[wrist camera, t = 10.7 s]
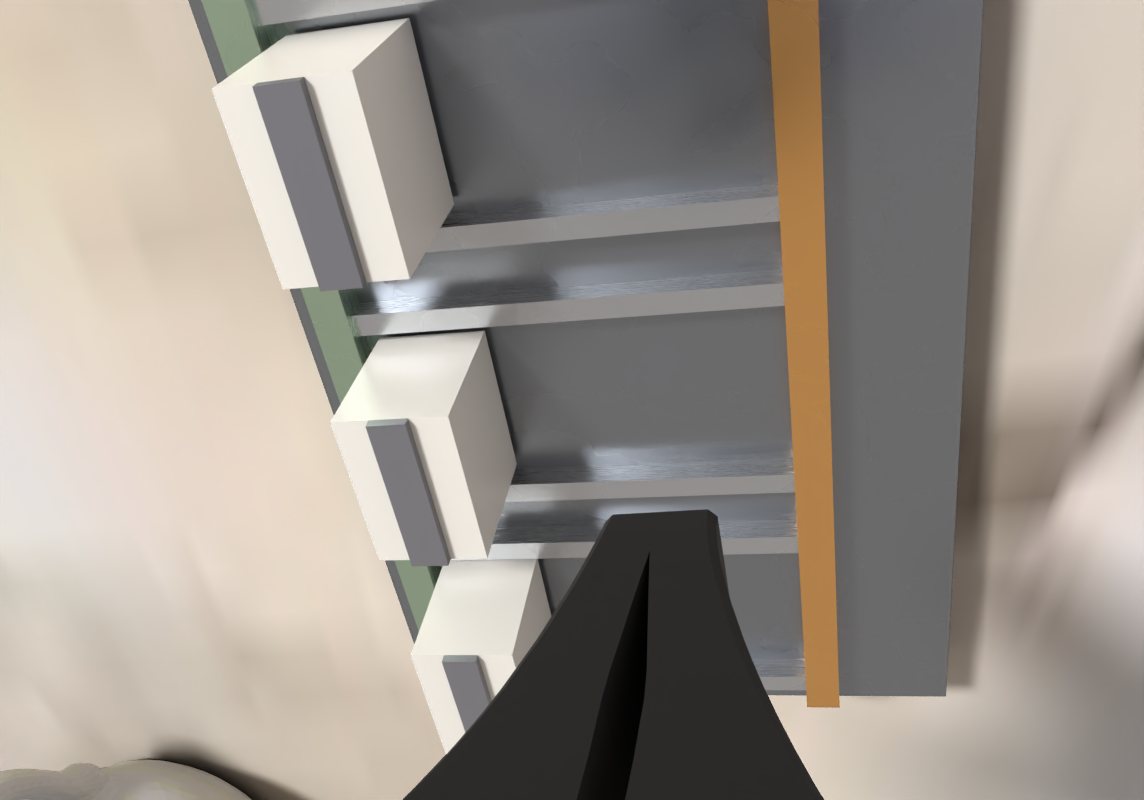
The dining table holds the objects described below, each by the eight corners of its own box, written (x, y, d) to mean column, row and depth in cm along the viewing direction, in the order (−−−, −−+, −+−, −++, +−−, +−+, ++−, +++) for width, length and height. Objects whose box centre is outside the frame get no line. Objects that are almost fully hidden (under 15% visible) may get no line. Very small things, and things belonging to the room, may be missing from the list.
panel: (976, -195, 17) (1004, -182, 15) (937, 652, 27) (950, 721, 26) (206, -67, 20) (148, -43, 18) (444, 652, 30) (424, 715, 29)
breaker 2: (484, 330, 22) (445, 421, 19) (516, 463, 24) (485, 564, 21) (379, 337, 22) (326, 428, 20) (419, 468, 24) (376, 567, 21)
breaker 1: (409, 17, 18) (347, 74, 15) (454, 204, 20) (406, 284, 17) (286, 35, 19) (205, 92, 16) (342, 215, 21) (278, 295, 18)
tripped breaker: (536, 556, 25) (510, 661, 22) (561, 656, 27) (539, 765, 24) (445, 558, 26) (407, 662, 23) (475, 656, 28) (444, 762, 25)
